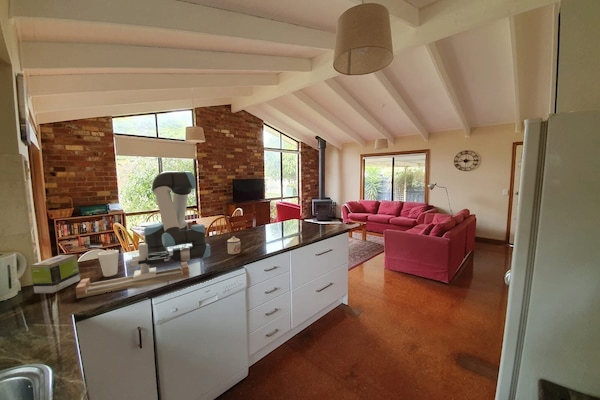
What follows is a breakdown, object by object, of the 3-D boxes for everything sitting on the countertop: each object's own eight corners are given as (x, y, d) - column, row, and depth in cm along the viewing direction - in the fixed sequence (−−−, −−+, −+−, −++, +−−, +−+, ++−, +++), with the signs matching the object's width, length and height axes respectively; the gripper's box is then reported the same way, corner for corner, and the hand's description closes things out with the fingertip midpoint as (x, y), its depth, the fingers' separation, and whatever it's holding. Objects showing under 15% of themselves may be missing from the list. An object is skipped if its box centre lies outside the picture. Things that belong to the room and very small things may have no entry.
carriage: (135, 274, 137) (132, 243, 136) (156, 270, 142) (153, 241, 141) (133, 281, 129) (130, 248, 127) (156, 276, 134) (153, 245, 132)
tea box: (62, 280, 138) (59, 254, 137) (80, 280, 138) (77, 254, 137) (33, 293, 123) (29, 264, 122) (53, 293, 123) (49, 264, 122)
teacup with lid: (235, 255, 177) (234, 238, 176) (224, 253, 180) (224, 237, 179) (245, 250, 188) (244, 234, 187) (235, 249, 191) (234, 233, 190)
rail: (83, 288, 128) (82, 278, 127) (187, 269, 151) (186, 261, 150) (76, 298, 117) (75, 288, 117) (189, 276, 141) (188, 267, 140)
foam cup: (119, 270, 153) (117, 248, 151) (122, 274, 146) (120, 252, 145) (99, 274, 146) (96, 252, 145) (101, 279, 139) (99, 256, 138)
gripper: (182, 266, 134) (129, 274, 124) (180, 256, 150) (134, 262, 140) (181, 252, 133) (128, 259, 123) (180, 243, 150) (133, 249, 139)
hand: (131, 261), depth 131 cm, fingers open, 6 cm apart
